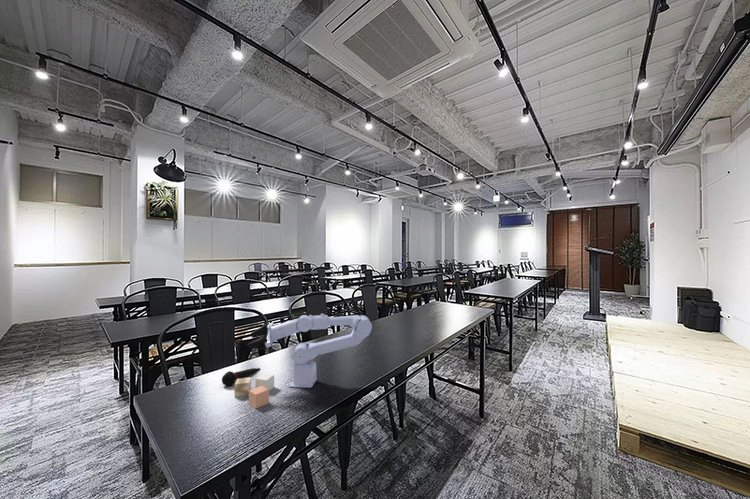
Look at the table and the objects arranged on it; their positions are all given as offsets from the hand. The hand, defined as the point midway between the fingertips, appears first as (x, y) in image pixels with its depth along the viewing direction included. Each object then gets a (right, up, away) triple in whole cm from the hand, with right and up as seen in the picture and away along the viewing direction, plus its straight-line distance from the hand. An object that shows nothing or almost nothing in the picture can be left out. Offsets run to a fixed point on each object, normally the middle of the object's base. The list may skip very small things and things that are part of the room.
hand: (249, 340), depth 117 cm
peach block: (+9, -19, -13) cm, 25 cm away
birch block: (0, -19, -6) cm, 20 cm away
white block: (+7, -19, -2) cm, 20 cm away
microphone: (-6, -19, +8) cm, 22 cm away
